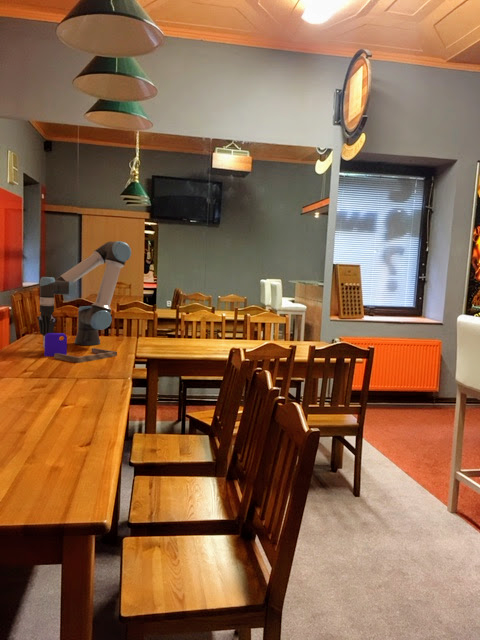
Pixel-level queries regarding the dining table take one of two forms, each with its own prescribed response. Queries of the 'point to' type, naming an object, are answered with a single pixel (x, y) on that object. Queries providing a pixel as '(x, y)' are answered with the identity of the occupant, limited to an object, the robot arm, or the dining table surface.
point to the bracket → (55, 344)
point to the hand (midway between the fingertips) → (46, 347)
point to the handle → (100, 355)
